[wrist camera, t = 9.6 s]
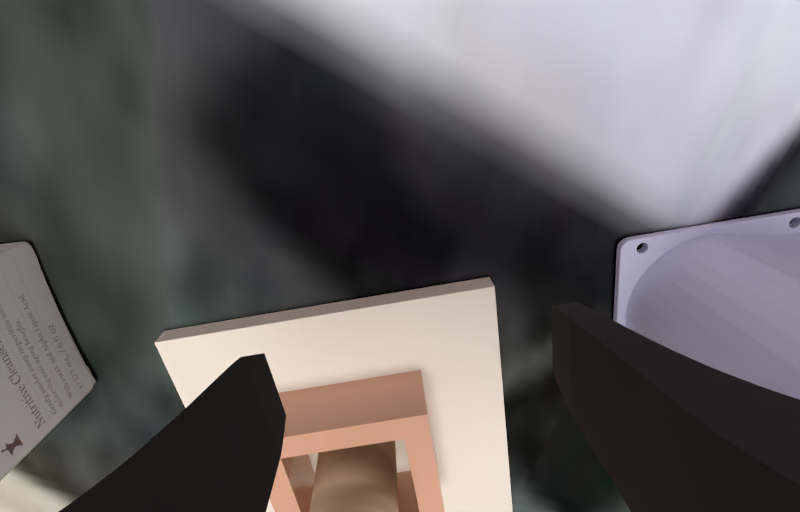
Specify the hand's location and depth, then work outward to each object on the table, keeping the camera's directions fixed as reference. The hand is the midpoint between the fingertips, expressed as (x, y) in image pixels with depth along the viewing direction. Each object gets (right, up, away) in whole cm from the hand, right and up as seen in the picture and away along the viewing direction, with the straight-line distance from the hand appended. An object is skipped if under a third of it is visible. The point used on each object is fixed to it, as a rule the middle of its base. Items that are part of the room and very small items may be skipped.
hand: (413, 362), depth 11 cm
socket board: (-3, -7, +13) cm, 15 cm away
